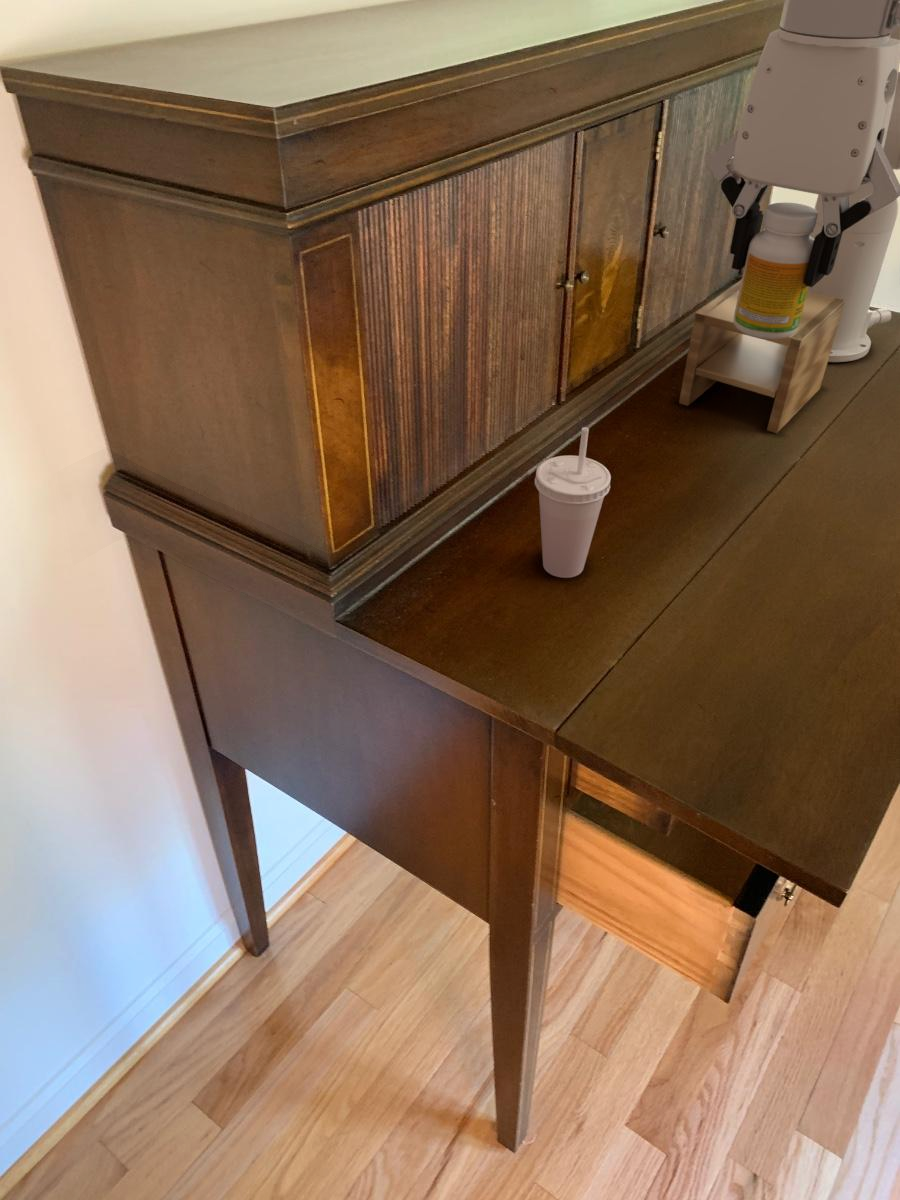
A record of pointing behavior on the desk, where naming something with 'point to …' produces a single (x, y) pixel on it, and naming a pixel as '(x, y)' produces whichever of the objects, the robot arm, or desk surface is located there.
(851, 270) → the robot arm
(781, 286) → the supplement bottle
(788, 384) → the shelf stand
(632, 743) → the desk surface
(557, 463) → the smoothie
